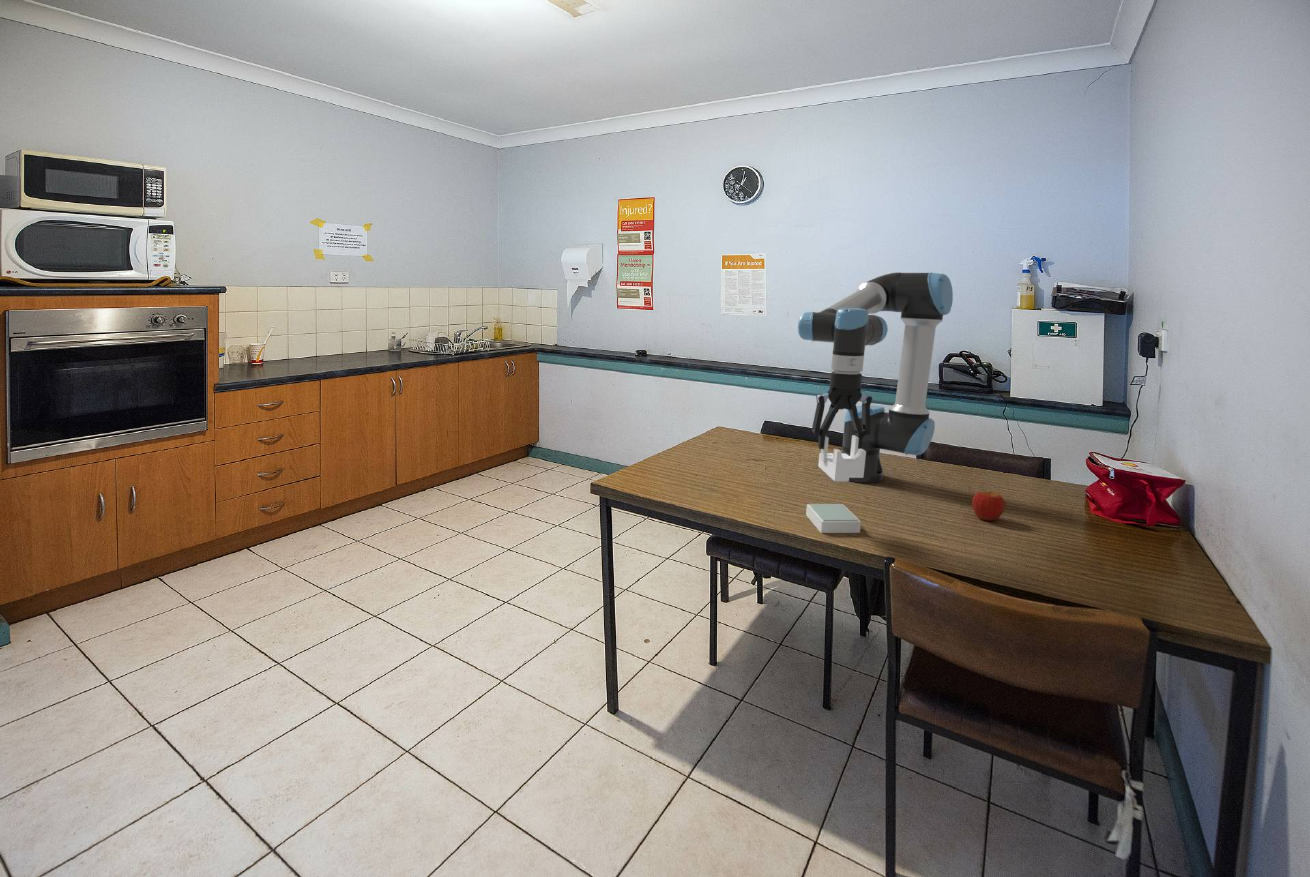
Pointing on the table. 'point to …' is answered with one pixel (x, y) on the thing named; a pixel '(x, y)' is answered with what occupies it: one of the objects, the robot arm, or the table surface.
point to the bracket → (843, 465)
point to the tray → (833, 518)
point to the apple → (988, 505)
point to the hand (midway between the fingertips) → (838, 461)
